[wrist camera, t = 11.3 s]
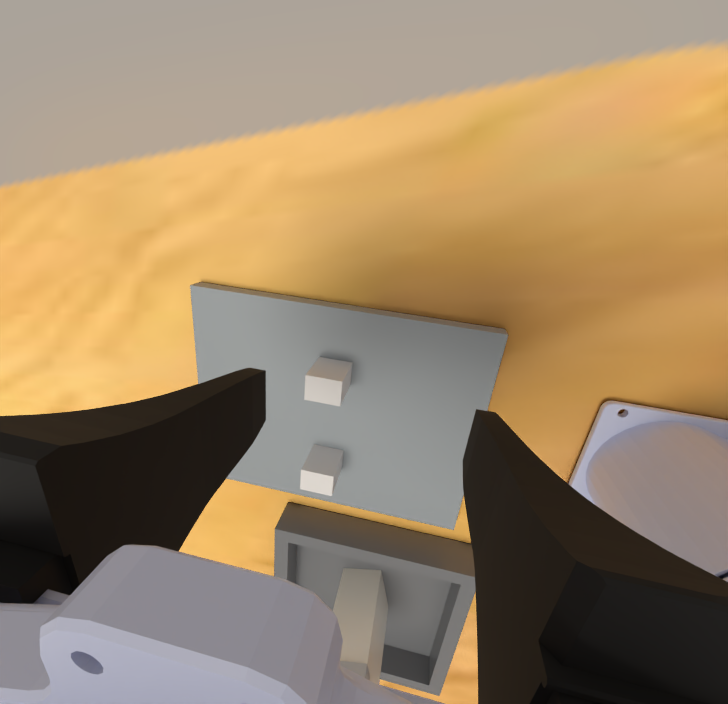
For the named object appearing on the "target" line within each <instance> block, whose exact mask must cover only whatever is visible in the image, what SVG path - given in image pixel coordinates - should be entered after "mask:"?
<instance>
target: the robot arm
mask: <svg viewBox="0 0 728 704" xmlns="http://www.w3.org/2000/svg"><path fill="white" fill-rule="evenodd" d="M622 409H625V411H624V412H623V413H621V414H618V412H619V410H622ZM265 421H266V370H260V369H255V368H245V369H241V370H238V371H235V372H232V373H229V374H226V375H223V376H220V377H217V378H214V379H211V380H209V381H206V382H203V383H200V384H197V385H194V386H191V387H187V388H184V389H181V390H178V391H175V392H171V393H168V394H164V395H161V396H157V397H153V398H149V399H144V400H140V401H136V402H131V403H126V404H120V405H114V406H108V407H102V408H96V409H89V410H81V411H72V412H62V413H52V414H39V415H18V416H0V704H444V703H441V702H437V701H434V700H431V699H427V698H424V697H420V696H417V695H413V694H410V693H406V692H403V691H399V690H396V689H392V688H389V687H385V686H382V685H379V684H375V683H373V682H372V681H370V680H368V679H366V678H364V677H362V676H360V675H358V674H356V673H354V672H352V671H350V670H348V669H346V668H344V667H343V666H341V665H340V658H341V650H342V643H343V638H342V634H341V631H340V627H339V623H338V619H337V617H336V615H335V614H334V612H333V611H332V610H331V609H330V608H329V607H328V606H327V605H326V604H325V603H324V602H323V601H322V600H321V599H320V598H319V597H318V596H317V595H316V594H315V593H314V592H312V591H310V590H308V589H306V588H304V587H301V586H299V585H297V584H295V583H292V582H290V581H288V580H286V579H282V578H278V577H274V576H270V575H267V574H263V573H259V572H255V571H251V570H247V569H243V568H240V567H236V566H232V565H228V564H224V563H220V562H216V561H213V560H209V559H205V558H201V557H197V556H193V555H189V554H186V553H182V552H178V551H179V549H180V548H181V546H182V544H183V542H184V541H185V539H186V537H187V536H188V534H189V532H190V530H191V529H192V527H193V526H194V524H195V522H196V521H197V519H198V518H199V516H200V514H201V513H202V511H203V510H204V508H205V506H206V505H207V503H208V502H209V500H210V499H211V498H212V496H213V495H214V493H215V492H216V491H217V489H218V488H219V487H220V486H221V484H222V483H223V482H224V480H225V479H226V478H227V477H228V475H229V474H230V473H231V471H232V470H233V469H234V468H235V466H236V465H237V464H238V462H239V461H240V460H241V459H242V457H243V456H244V455H245V453H246V452H247V451H248V449H249V448H250V447H251V445H252V444H253V442H254V441H255V439H256V437H257V436H258V434H259V432H260V430H261V428H262V427H263V425H264V423H265ZM463 491H464V498H465V505H466V511H467V518H468V524H469V531H470V537H471V544H472V550H473V558H474V568H475V588H476V611H477V640H478V704H728V420H723V419H717V418H712V417H706V416H700V415H694V414H688V413H683V412H677V411H671V410H665V409H659V408H654V407H648V406H642V405H636V404H630V403H625V402H619V401H607V402H605V403H603V404H602V406H601V407H600V410H599V412H598V414H597V417H596V419H595V422H594V424H593V426H592V429H591V431H590V433H589V436H588V438H587V441H586V443H585V445H584V448H583V450H582V452H581V455H580V457H579V459H578V462H577V464H576V467H575V469H574V471H573V474H572V476H571V478H570V481H569V483H568V484H567V483H566V482H565V481H564V480H563V479H561V478H560V477H559V476H558V475H557V474H556V473H554V472H553V471H552V470H551V469H550V468H549V467H548V466H547V465H546V464H545V463H544V462H543V461H542V460H540V459H539V458H538V457H537V456H536V455H535V454H534V453H533V452H532V451H531V450H530V449H529V448H528V447H527V446H526V444H525V443H524V442H523V441H522V440H521V439H520V438H519V437H518V436H517V435H516V434H515V433H514V432H513V431H512V429H511V428H510V427H509V426H508V425H507V424H506V423H505V422H504V421H503V420H502V419H501V417H500V416H499V415H498V414H496V413H495V412H489V411H484V410H478V409H476V411H475V415H474V419H473V423H472V427H471V430H470V434H469V438H468V442H467V445H466V449H465V453H464V457H463Z"/></svg>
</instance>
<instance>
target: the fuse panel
mask: <svg viewBox="0 0 728 704" xmlns="http://www.w3.org/2000/svg"><path fill="white" fill-rule="evenodd" d="M190 289H191V301H192V313H193V325H194V337H195V348H196V360H197V372H198V384H200V383H203V382H206V381H209V380H211V379H214V378H217V377H220V376H223V375H226V374H229V373H232V372H235V371H238V370H241V369H245V368H255V369H260V370H266V421H265V423H264V425H263V427H262V428H261V430H260V432H259V434H258V436H257V437H256V439H255V441H254V442H253V444H252V445H251V447H250V448H249V449H248V451H247V452H246V453H245V455H244V456H243V457H242V459H241V460H240V461H239V462H238V464H237V465H236V466H235V468H234V469H233V470H232V471H231V473H230V474H229V475H228V477H227V479H231V480H236V481H240V482H245V483H249V484H253V485H258V486H262V487H267V488H271V489H275V490H280V491H284V492H289V493H293V494H298V495H302V496H306V497H311V498H315V499H320V500H324V501H328V502H333V503H337V504H342V505H346V506H350V507H355V508H359V509H364V510H368V511H372V512H377V513H381V514H386V515H390V516H395V517H399V518H403V519H408V520H412V521H417V522H421V523H425V524H430V525H434V526H439V527H443V528H447V529H452V530H454V527H455V524H456V520H457V517H458V513H459V510H460V506H461V502H462V499H463V495H464V491H463V457H464V453H465V449H466V445H467V442H468V438H469V434H470V430H471V427H472V423H473V419H474V415H475V411H476V409H478V410H484V411H487V410H488V406H489V402H490V399H491V395H492V392H493V388H494V385H495V381H496V377H497V374H498V370H499V367H500V363H501V360H502V356H503V352H504V349H505V345H506V342H507V338H508V333H507V332H506V330H505V329H502V328H496V327H489V326H483V325H476V324H470V323H463V322H457V321H450V320H444V319H437V318H431V317H424V316H418V315H411V314H405V313H398V312H392V311H386V310H379V309H373V308H366V307H360V306H353V305H347V304H340V303H334V302H327V301H321V300H314V299H308V298H301V297H295V296H288V295H282V294H275V293H269V292H262V291H256V290H249V289H243V288H236V287H230V286H223V285H217V284H210V283H204V282H199V283H196V284H193V285H190Z"/></svg>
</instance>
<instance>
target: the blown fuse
mask: <svg viewBox="0 0 728 704" xmlns="http://www.w3.org/2000/svg"><path fill="white" fill-rule="evenodd" d="M333 612H334V614H335V615H336V617H337V619H338V623H339V627H340V631H341V634H342V638H343V643H342V650H341V658H340V665H341V666H343V667H344V668H346V669H348V670H350V671H352V672H354V673H356V674H358V675H360V676H362V677H364V678H366V679H368V680H370V681H372V682H373V683H375V684H379V682H380V673H381V665H382V656H383V648H384V639H385V631H386V622H387V614H388V602H387V597H386V592H385V587H384V582H383V577H382V572H381V570H368V569H349V568H344V569H343V573H342V577H341V580H340V584H339V588H338V592H337V596H336V600H335V604H334V608H333Z"/></svg>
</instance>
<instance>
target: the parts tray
mask: <svg viewBox="0 0 728 704" xmlns="http://www.w3.org/2000/svg"><path fill="white" fill-rule="evenodd" d="M344 568H349V569H368V570H381V572H382V577H383V582H384V587H385V592H386V597H387V602H388V614H387V622H386V631H385V639H384V648H383V656H382V665H381V673H380V679H382V680H385V681H389V682H392V683H396V684H399V685H403V686H406V687H410V688H413V689H417V690H420V691H424V692H427V693H431V694H434V695H438V696H440V693H441V690H442V687H443V684H444V681H445V678H446V675H447V672H448V669H449V667H450V664H451V661H452V658H453V655H454V652H455V649H456V646H457V643H458V640H459V638H460V635H461V632H462V629H463V626H464V623H465V620H466V617H467V614H468V611H469V608H470V606H471V603H472V600H473V597H474V594H475V591H476V588H475V568H474V558H473V550H472V544H468V543H464V542H460V541H455V540H451V539H447V538H442V537H438V536H434V535H429V534H425V533H421V532H416V531H412V530H408V529H403V528H399V527H395V526H390V525H386V524H382V523H377V522H373V521H369V520H364V519H360V518H356V517H351V516H347V515H343V514H338V513H334V512H329V511H325V510H321V509H316V508H312V507H308V506H303V505H299V504H295V503H290V502H288V504H287V506H286V508H285V510H284V512H283V514H282V516H281V518H280V520H279V522H278V524H277V526H276V528H275V561H274V577H278V578H282V579H286V580H288V581H290V582H292V583H295V584H297V585H299V586H301V587H304V588H306V589H308V590H310V591H312V592H314V593H315V594H316V595H317V596H318V597H319V598H320V599H321V600H322V601H323V602H324V603H325V604H326V605H327V606H328V607H329V608H330V609H331V610H332V611H333V608H334V604H335V600H336V596H337V592H338V588H339V584H340V580H341V577H342V573H343V569H344Z"/></svg>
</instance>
